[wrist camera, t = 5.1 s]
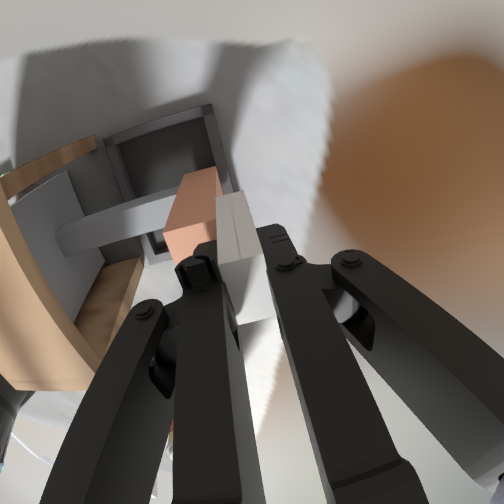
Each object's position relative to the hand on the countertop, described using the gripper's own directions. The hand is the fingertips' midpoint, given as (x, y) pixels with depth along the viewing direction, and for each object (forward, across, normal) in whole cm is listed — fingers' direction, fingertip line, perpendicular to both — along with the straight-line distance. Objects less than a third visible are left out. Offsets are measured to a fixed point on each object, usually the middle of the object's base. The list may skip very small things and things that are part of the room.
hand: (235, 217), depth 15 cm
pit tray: (+10, -4, 0) cm, 11 cm away
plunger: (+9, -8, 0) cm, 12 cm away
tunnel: (+10, -15, 0) cm, 18 cm away
